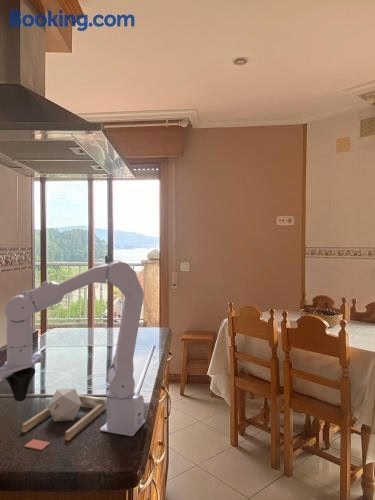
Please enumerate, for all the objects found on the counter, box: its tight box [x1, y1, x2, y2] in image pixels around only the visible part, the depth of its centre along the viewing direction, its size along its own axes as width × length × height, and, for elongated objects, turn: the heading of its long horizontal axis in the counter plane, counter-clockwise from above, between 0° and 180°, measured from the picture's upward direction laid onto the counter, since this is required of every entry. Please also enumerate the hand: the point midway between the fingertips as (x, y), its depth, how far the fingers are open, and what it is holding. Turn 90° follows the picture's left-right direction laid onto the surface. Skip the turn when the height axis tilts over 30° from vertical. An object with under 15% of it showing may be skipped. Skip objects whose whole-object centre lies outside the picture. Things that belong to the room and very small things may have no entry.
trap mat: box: [23, 438, 51, 451], centre depth 86 cm, size 5×3×1 cm, turn 73°
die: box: [47, 388, 81, 422], centre depth 99 cm, size 8×9×10 cm
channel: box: [21, 394, 107, 441], centre depth 98 cm, size 14×18×3 cm
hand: (20, 399), depth 87 cm, fingers closed
